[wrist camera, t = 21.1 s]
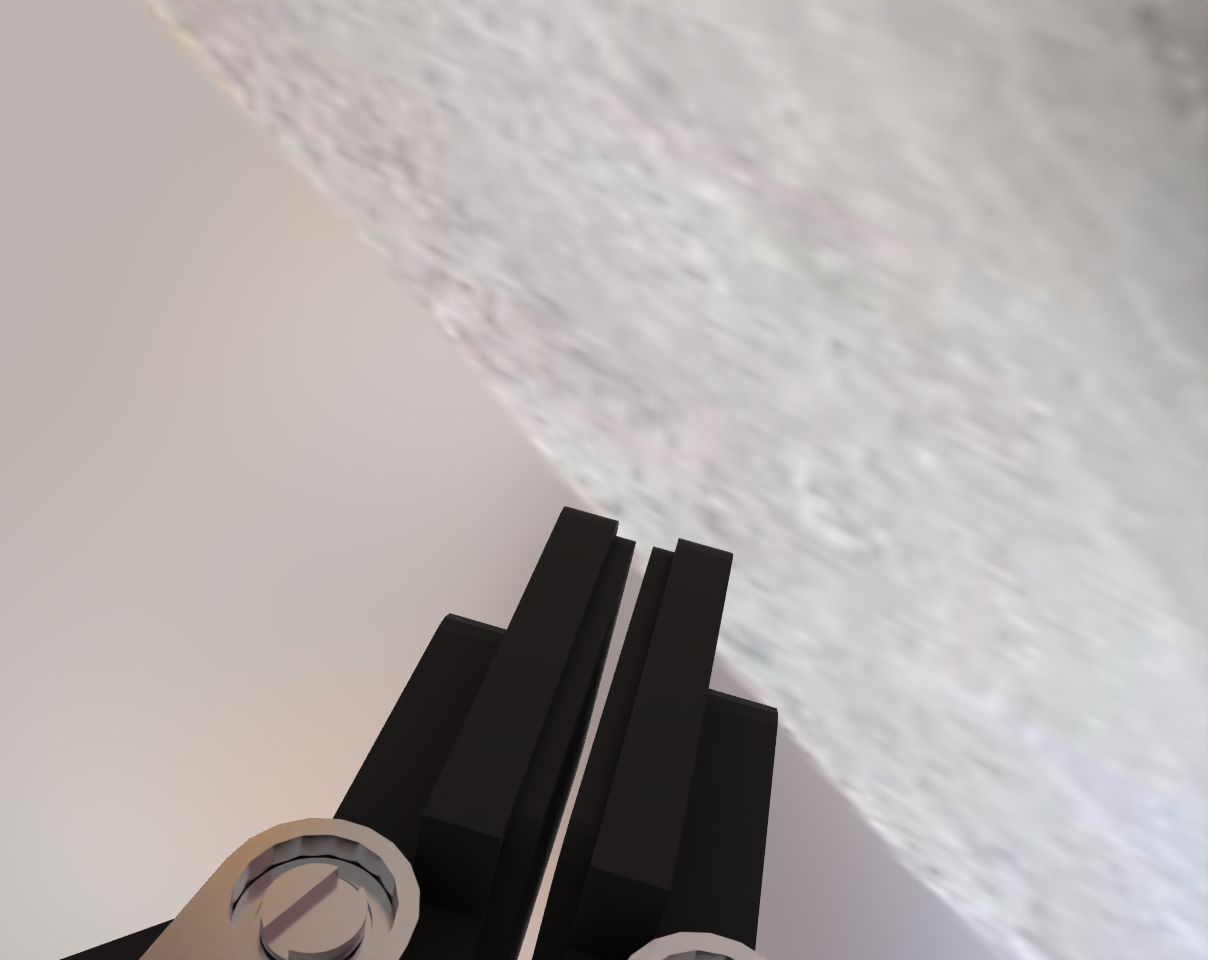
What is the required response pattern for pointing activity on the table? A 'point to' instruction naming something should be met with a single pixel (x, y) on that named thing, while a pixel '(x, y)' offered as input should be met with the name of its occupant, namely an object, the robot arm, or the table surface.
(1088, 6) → the table surface
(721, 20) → the table surface
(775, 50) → the table surface
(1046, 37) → the table surface
